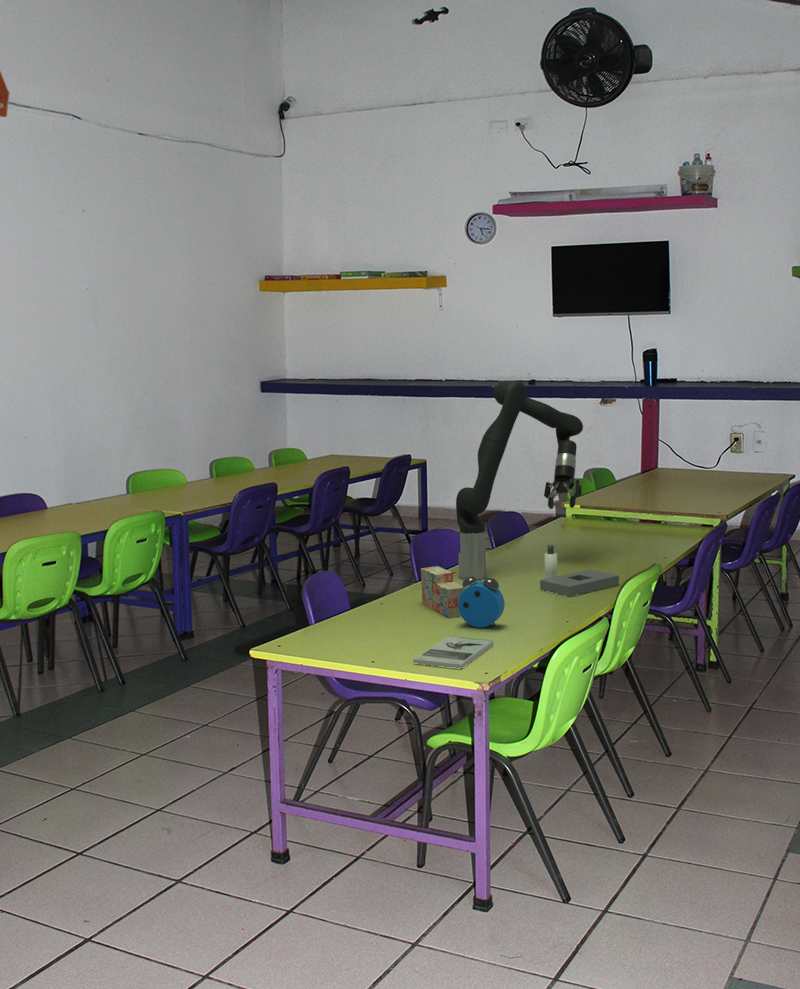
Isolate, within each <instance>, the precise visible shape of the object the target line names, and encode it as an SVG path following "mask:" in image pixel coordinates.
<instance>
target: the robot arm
mask: <svg viewBox="0 0 800 989" xmlns="http://www.w3.org/2000/svg"><path fill="white" fill-rule="evenodd" d="M527 394H528V393H527V388H526V386H525V384H524V382H522V381H518V380H517V381H516V380H507V381H501V382H499V383H497V385H496V386H495V387H494V390H493V397H494V399H495V401H496V402H497V404H499V405H500V406H502V407H501V409H500V411H499V414H498V415H497V417H496V419H495V420H494V421H493V422H492V423H491V424H490V425H489V427H488V428H487V430H486V431H485V433H484V434H483V435H482V438H481V442H480V444H479V447H478V451H477V466H478V468H477V470H478V471H477V472H478V473H477V477H476V479H475V483H474V484H473V485H474V486H473V487H470V486H469V487H466V486H465V487H463V488H461V489H460V490H459V491H458V492H457V494H456V498H455V508H456V509H455V511H456V522H457V525H458V527H459V540H460V542H459V543H460V545H459V547H460V548H459V549H460V552H458V554H457V555H458V578H459V579H461V580H465V579H466V577H467V578H468V577H475V578H476V579H477V580H478V581H480V580H479V579H482V580H483V579H484V580H485V579H487V556H486V555H487V553H486V549H487V548H486V524H485V523H484V522H483V520H482V519H481V518H480V516H479V515H481V514H483V513H484V512H485V511H486V509H487V508H488V506H489V503H490V499H491V494H492V491H493V487H494V482H495V480H496V476H497V473H498V472H499V471H498V470H499V467H500V465H501V461H502V459H503V456H504V454H505V451H506V448H507V446H508V443H509V442H508V441H509V439H510V436H511V434H512V431H513V430H514V425H515V423H516V421H517V419H518V416H519V414H520V413H523V414H525V415H527V416H529V417H530V418H533V419H534V420H537V421H538V422H540V423H542V424H543V425H545V426H547V427H549V428H550V429H555V437H556V443H557V452H556V453H557V454H556V458H555V466H554V474H553V482H549V481H547V482H545V487H544V493H543V497H545V498H546V499H548V500H547V507H548V509H550V510H553V509H554V504H555V503H554V502H555V501H554V499H555V498H556V497H557V496H558V495H559V494H561V495H562V494H569V495H570V497H569V507H570V509H573V508H574V507H575V506H576V500H577V498H578V497H579V498H580V497H582V486H583V485H582V484H583V483H582V481H581V480H579V479H575V474H576V467H577V466H576V464H577V463H576V459H577V448H578V446H577V443H576V442H575V441H573V440H570V439H571V437H574V436H577V435H580V434H581V432H583V429H584V425H583V421H582V420H581V419H580V418H579V417H577V416H575V415H573V414H570V413H566V412H562V411H559V410H558V409H556V408H555V407H553V406H551V405H549V404H547V403H545V402H542V401H539V400H536V399H533V398H530V397H528V396H527ZM574 486H575V491H574V490H573V487H574Z"/></svg>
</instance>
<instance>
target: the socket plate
mask: <svg viewBox="0 0 800 989" xmlns="http://www.w3.org/2000/svg"><path fill="white" fill-rule="evenodd" d="M618 586H620V576H619V575H618V574H614V573H609V572H605V571H599V570H594V569H589V568H588V569H585V570H580V571H575V572H570V573H566V574H563V575H557V577H552V578H547V579H545V578H544V579H539V587H540V588H539V589H541V590H540V591H542V590H545V591H544V592H546V591H549V592H548V593H550V592H553V593H552V594H555V593H558V594H557V595H559V594H562V595H561V596H563V595H566V596H565V597H567V596H572V597H574V596H573V595H576V594H580V595H582V594H581V593H585V592H588V591H593V590H597V591H599V590H598V589H601V590H604V589H603V588H606V589H609V587H610V588H614V587H618ZM593 592H594V591H593ZM585 594H586V593H585ZM576 596H577V595H576Z"/></svg>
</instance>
